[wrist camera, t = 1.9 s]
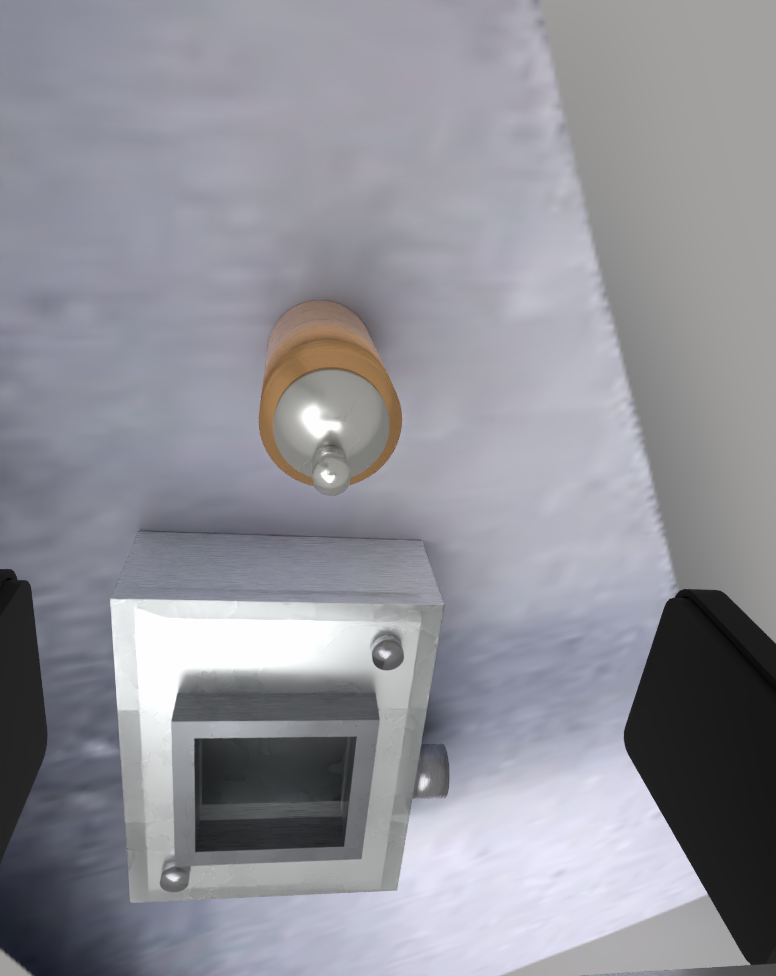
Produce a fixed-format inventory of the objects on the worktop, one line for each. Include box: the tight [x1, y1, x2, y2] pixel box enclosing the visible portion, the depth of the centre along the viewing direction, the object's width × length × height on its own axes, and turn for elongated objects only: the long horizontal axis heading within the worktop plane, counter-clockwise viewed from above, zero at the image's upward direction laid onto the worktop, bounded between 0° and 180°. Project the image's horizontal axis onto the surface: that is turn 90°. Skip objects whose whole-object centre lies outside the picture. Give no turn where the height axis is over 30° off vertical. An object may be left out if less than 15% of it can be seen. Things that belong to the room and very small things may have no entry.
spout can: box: [259, 300, 402, 496], centre depth 22 cm, size 4×4×10 cm
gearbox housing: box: [110, 531, 449, 903], centre depth 30 cm, size 16×14×6 cm
